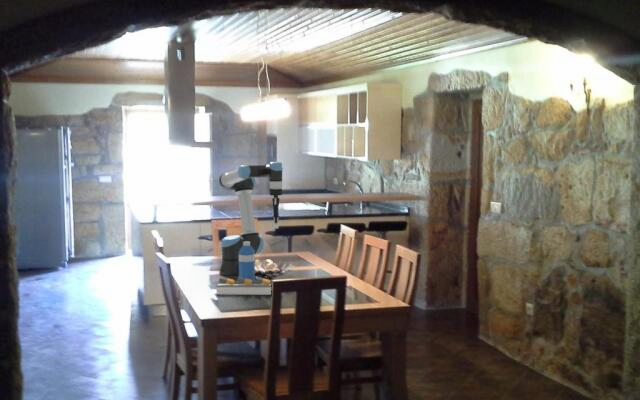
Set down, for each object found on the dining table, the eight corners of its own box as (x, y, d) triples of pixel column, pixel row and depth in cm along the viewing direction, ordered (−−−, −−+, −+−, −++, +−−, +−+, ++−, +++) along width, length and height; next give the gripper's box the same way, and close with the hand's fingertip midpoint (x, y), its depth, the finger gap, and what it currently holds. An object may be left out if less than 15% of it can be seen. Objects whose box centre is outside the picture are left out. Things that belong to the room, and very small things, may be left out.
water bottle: (240, 286, 399) (239, 243, 397) (237, 282, 408) (237, 241, 406) (256, 285, 402) (255, 242, 399) (253, 281, 411) (253, 240, 408)
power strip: (219, 290, 390) (219, 281, 390) (272, 290, 390) (272, 281, 390) (216, 294, 380) (216, 285, 380) (270, 294, 380) (270, 285, 380)
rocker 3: (255, 279, 387) (256, 276, 387) (269, 283, 387) (270, 280, 387) (254, 281, 382) (255, 278, 382) (268, 285, 382) (269, 282, 382)
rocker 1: (220, 279, 387) (220, 276, 387) (233, 283, 387) (234, 280, 387) (218, 281, 382) (219, 278, 382) (232, 285, 382) (233, 281, 382)
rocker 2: (237, 279, 387) (238, 276, 387) (251, 283, 387) (252, 280, 387) (236, 281, 382) (237, 278, 382) (250, 285, 382) (251, 282, 382)
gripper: (270, 187, 410) (270, 226, 413) (268, 189, 397) (268, 229, 400) (282, 187, 410) (283, 226, 413) (281, 189, 397) (281, 229, 400)
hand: (276, 228), depth 406 cm, fingers closed
